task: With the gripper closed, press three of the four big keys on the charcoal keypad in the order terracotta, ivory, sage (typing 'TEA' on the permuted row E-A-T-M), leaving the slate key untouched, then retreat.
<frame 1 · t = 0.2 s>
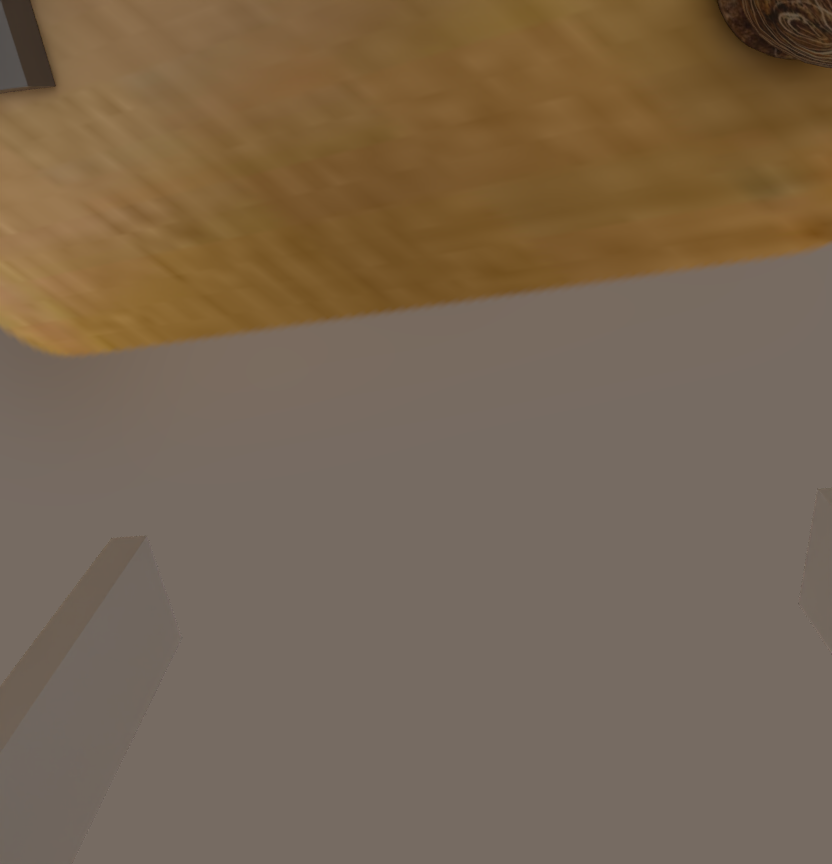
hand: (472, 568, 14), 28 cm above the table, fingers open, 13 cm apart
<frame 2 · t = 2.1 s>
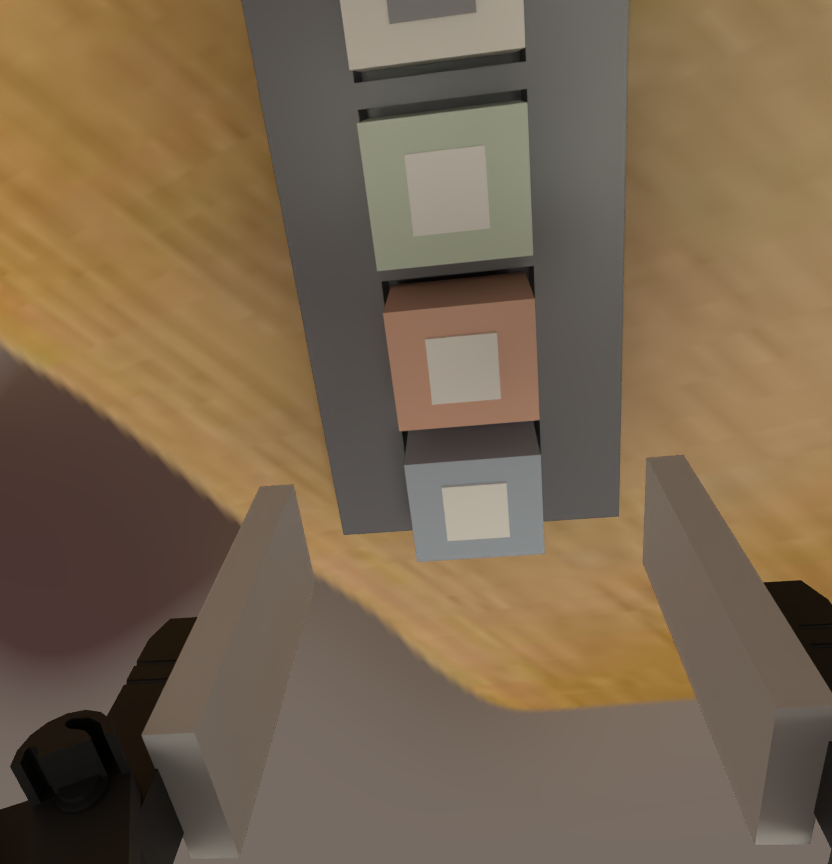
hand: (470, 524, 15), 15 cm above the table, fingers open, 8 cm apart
key A: (448, 184, 23), point 4 cm above the table, slide at 0.0 cm
keypad: (455, 247, 28), on the table
key T: (462, 351, 25), point 4 cm above the table, slide at 0.0 cm
key M: (474, 487, 28), point 4 cm above the table, slide at 0.0 cm
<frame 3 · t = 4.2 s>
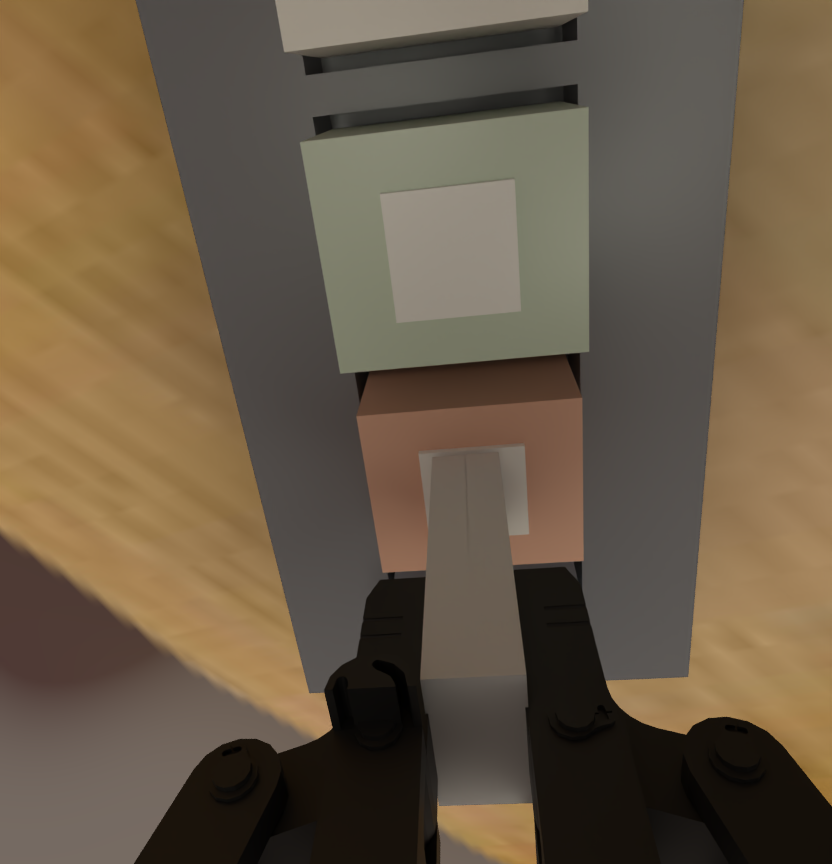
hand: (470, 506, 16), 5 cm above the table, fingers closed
key A: (453, 234, 15), point 4 cm above the table, slide at 0.0 cm
keypad: (463, 311, 19), on the table
key T: (473, 456, 18), point 3 cm above the table, slide at 0.9 cm, touching gripper
key M: (489, 650, 20), point 4 cm above the table, slide at 0.0 cm
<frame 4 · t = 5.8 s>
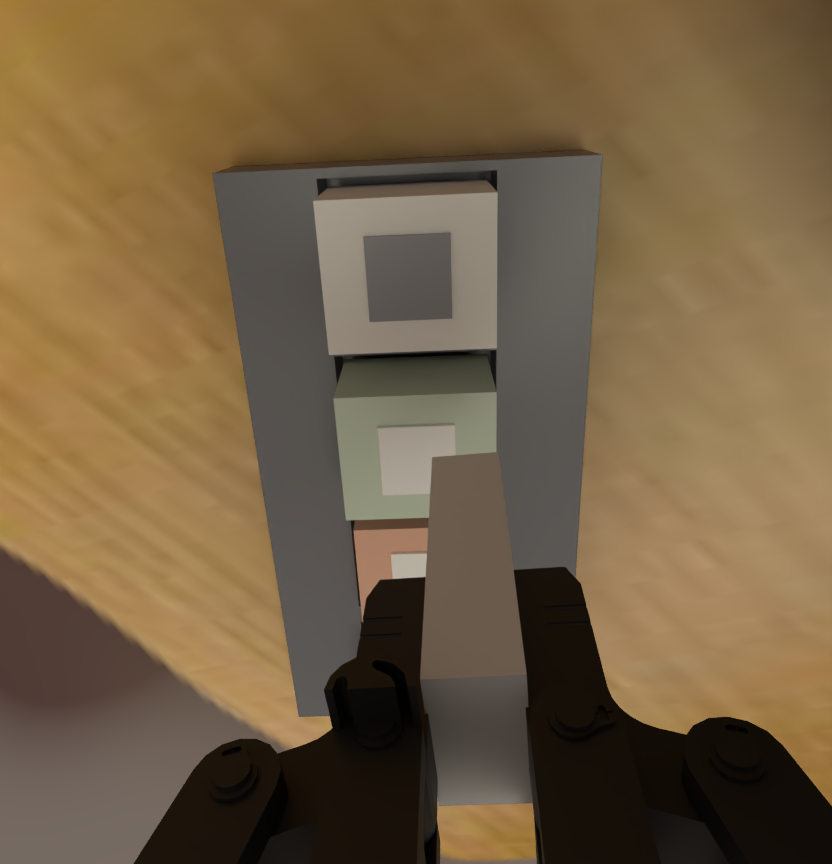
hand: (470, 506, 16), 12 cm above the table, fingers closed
key A: (418, 435, 24), point 4 cm above the table, slide at 0.0 cm
keypad: (421, 457, 29), on the table
key T: (424, 551, 28), point 2 cm above the table, slide at 1.5 cm
key E: (409, 265, 21), point 4 cm above the table, slide at 0.0 cm
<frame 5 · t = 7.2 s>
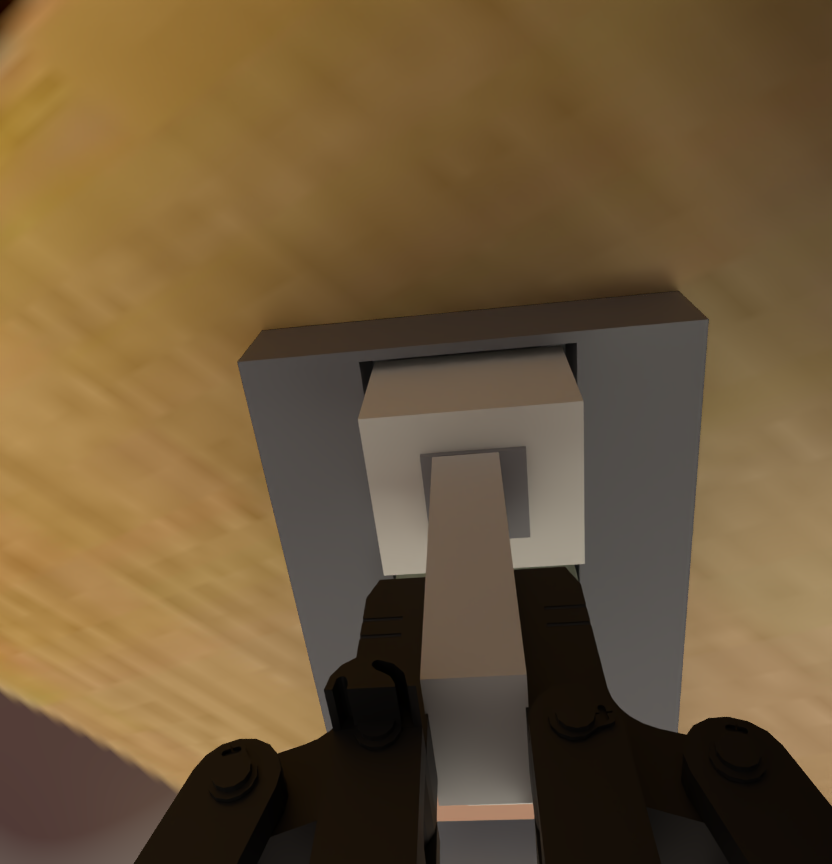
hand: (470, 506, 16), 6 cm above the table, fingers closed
key A: (489, 636, 20), point 4 cm above the table, slide at 0.0 cm
keypad: (490, 619, 25), on the table
key T: (499, 732, 24), point 2 cm above the table, slide at 1.5 cm
key E: (474, 459, 18), point 4 cm above the table, slide at 0.2 cm, touching gripper
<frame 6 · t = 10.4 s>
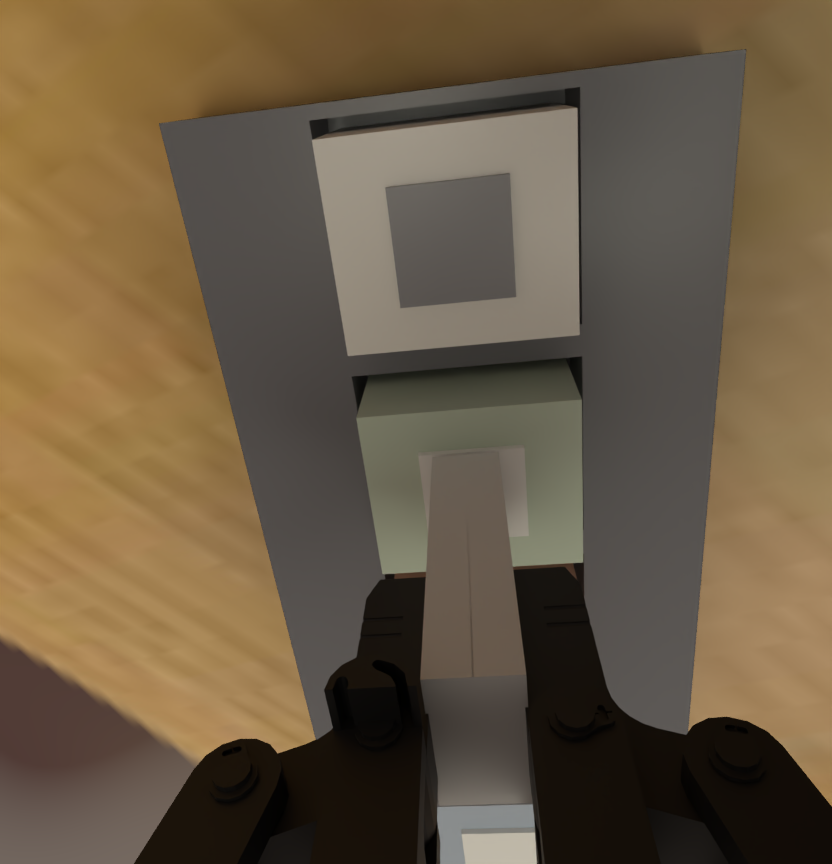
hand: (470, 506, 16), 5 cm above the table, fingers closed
key A: (473, 458, 18), point 3 cm above the table, slide at 1.3 cm, touching gripper
keypad: (478, 498, 22), on the table
key T: (488, 624, 21), point 2 cm above the table, slide at 1.5 cm
key M: (502, 799, 22), point 4 cm above the table, slide at 0.0 cm
key E: (453, 226, 16), point 2 cm above the table, slide at 1.5 cm
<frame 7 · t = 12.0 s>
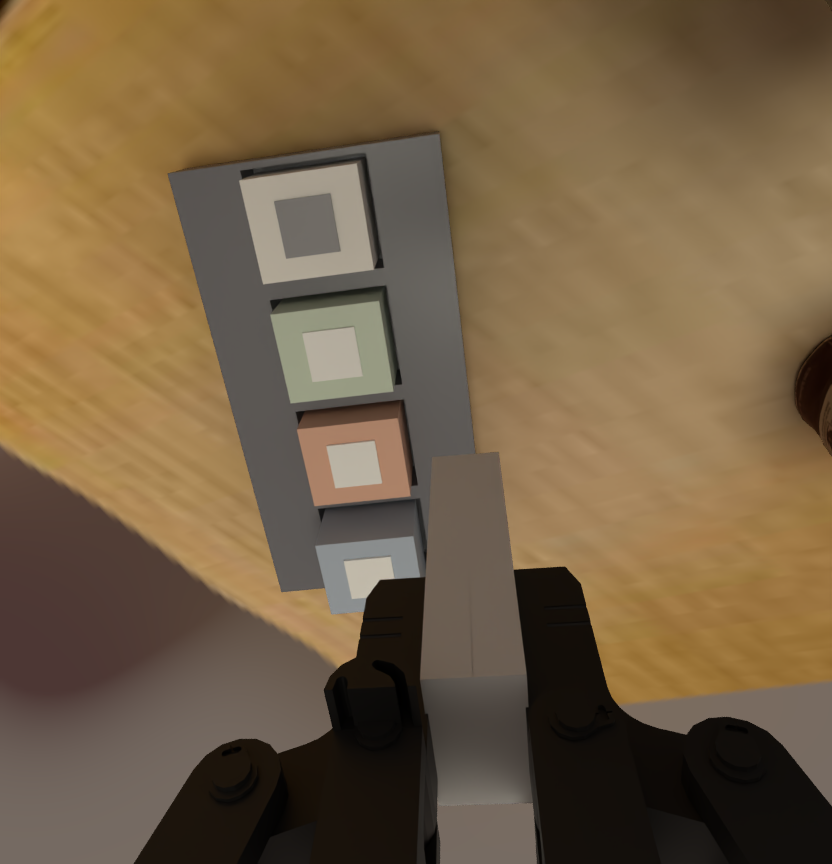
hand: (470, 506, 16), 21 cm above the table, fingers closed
key A: (338, 342, 34), point 2 cm above the table, slide at 1.5 cm
keypad: (353, 379, 37), on the table
key T: (358, 448, 36), point 2 cm above the table, slide at 1.5 cm
key M: (373, 556, 37), point 4 cm above the table, slide at 0.0 cm
key E: (314, 219, 31), point 2 cm above the table, slide at 1.5 cm
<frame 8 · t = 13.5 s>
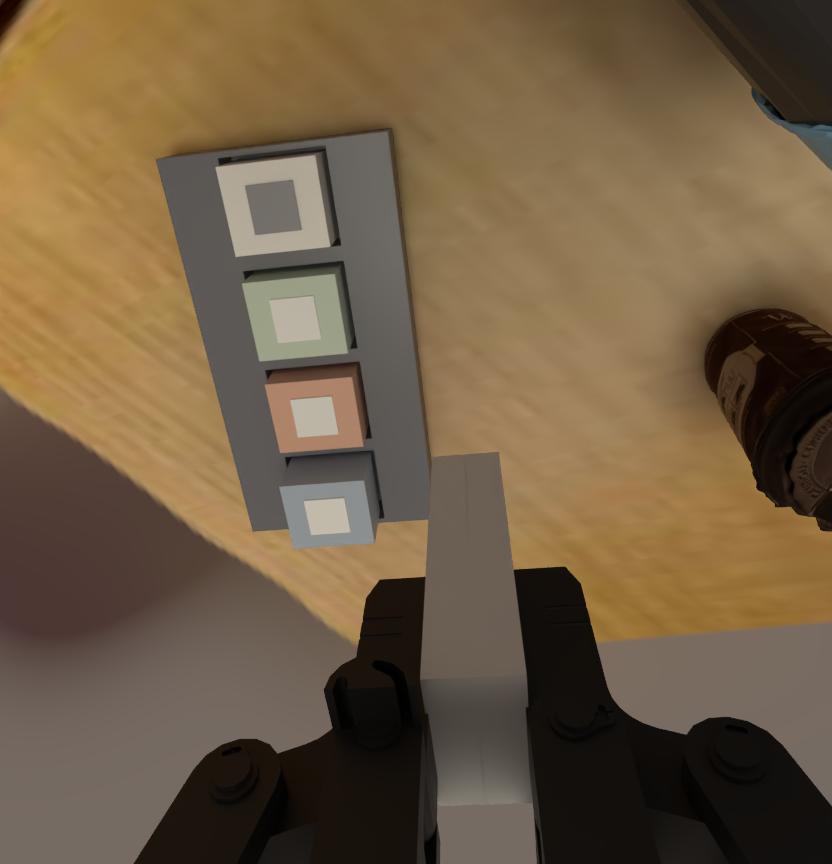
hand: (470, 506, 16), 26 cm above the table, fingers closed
coffee cup: (753, 358, 42), on the table
key A: (302, 309, 39), point 2 cm above the table, slide at 1.5 cm
keypad: (318, 344, 42), on the table
key T: (320, 403, 42), point 2 cm above the table, slide at 1.5 cm
key M: (332, 499, 43), point 4 cm above the table, slide at 0.0 cm
key E: (281, 202, 36), point 2 cm above the table, slide at 1.5 cm
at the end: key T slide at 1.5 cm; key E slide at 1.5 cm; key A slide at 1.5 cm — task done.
